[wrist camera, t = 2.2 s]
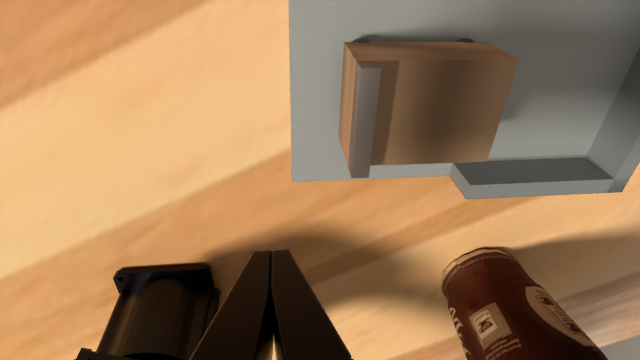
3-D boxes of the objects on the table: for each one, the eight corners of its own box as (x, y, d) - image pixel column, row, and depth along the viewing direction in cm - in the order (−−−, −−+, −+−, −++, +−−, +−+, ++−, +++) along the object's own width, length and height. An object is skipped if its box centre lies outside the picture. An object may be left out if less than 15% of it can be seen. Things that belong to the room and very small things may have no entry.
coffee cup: (519, 217, 27) (683, 408, 16) (541, 279, 31) (682, 460, 21) (411, 268, 29) (493, 470, 18) (446, 320, 33) (529, 506, 22)
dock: (291, 179, 23) (294, 207, 21) (287, -49, 16) (290, -45, 14) (589, 167, 25) (621, 192, 23) (695, -39, 18) (756, -34, 16)
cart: (335, 130, 21) (351, 180, 17) (340, 34, 18) (361, 65, 14) (453, 127, 22) (496, 174, 18) (477, 34, 19) (534, 64, 15)
